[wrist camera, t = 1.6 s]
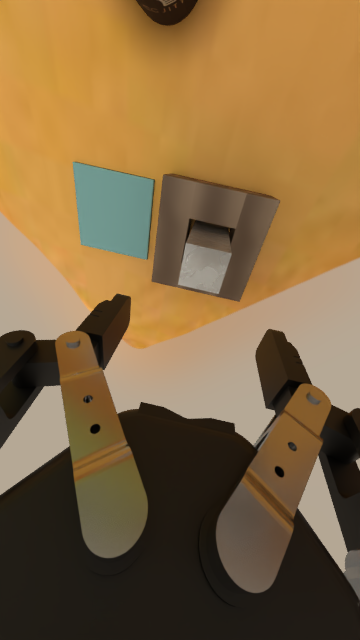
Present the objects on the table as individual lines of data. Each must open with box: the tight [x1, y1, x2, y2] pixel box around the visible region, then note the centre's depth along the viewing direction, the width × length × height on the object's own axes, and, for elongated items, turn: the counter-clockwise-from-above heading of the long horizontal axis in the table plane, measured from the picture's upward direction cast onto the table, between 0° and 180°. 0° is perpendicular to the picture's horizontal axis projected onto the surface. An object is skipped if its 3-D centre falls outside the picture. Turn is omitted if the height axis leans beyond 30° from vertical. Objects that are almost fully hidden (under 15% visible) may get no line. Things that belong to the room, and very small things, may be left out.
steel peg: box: [178, 220, 232, 294], centre depth 24 cm, size 4×4×12 cm
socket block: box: [152, 174, 280, 302], centre depth 27 cm, size 12×12×5 cm
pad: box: [73, 162, 155, 260], centre depth 29 cm, size 10×10×1 cm
